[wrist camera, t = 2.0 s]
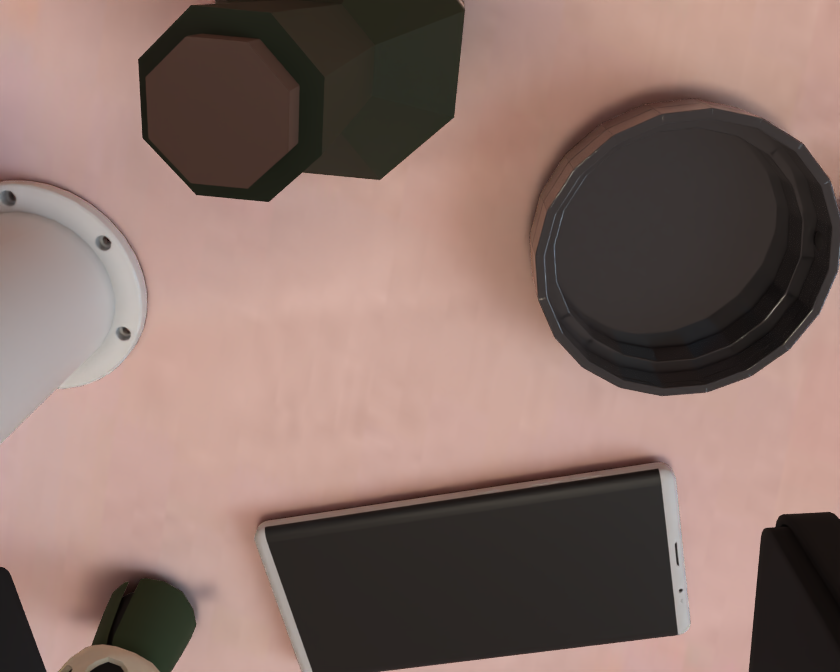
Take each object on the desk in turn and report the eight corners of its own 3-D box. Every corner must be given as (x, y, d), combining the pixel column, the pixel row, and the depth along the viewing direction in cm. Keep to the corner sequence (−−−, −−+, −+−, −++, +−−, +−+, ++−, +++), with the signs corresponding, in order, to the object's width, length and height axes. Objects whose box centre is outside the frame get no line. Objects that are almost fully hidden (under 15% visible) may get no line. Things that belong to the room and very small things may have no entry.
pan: (538, 372, 48) (545, 406, 44) (520, 116, 42) (526, 129, 38) (798, 349, 46) (828, 382, 42) (817, 81, 40) (854, 91, 36)
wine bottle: (345, -97, 38) (44, -317, 11) (497, -10, 39) (577, -6, 12) (277, 66, 41) (-92, 218, 14) (420, 142, 42) (341, 421, 15)
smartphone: (255, 516, 53) (248, 533, 51) (669, 454, 49) (676, 469, 48) (307, 665, 58) (303, 684, 56) (686, 618, 54) (693, 637, 53)
